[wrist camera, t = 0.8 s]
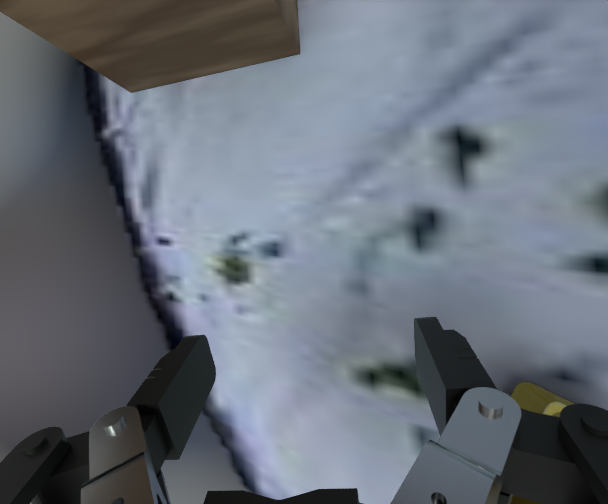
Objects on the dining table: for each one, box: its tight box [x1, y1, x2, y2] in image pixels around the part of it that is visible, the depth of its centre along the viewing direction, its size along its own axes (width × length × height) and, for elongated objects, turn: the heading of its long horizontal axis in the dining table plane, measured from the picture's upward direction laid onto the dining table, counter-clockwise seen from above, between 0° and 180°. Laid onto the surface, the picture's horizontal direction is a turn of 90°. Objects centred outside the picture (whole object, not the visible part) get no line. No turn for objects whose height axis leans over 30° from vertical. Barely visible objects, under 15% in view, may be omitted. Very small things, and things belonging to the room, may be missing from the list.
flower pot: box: [511, 382, 574, 504], centre depth 22 cm, size 9×9×9 cm
